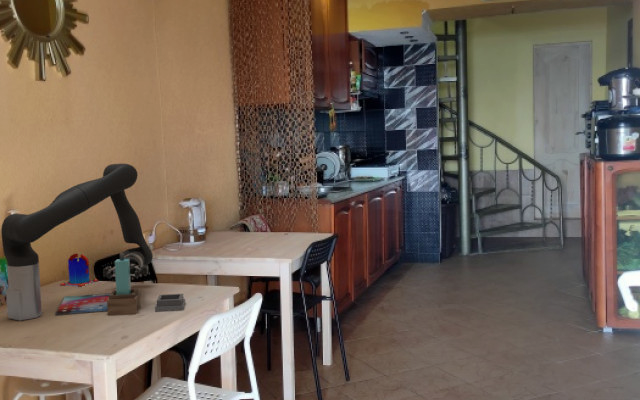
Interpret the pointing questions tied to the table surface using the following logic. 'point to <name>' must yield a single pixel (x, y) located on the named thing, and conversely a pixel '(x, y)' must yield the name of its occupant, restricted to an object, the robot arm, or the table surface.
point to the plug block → (122, 276)
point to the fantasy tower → (78, 271)
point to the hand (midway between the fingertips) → (122, 275)
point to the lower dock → (170, 302)
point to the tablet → (83, 304)
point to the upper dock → (123, 303)
